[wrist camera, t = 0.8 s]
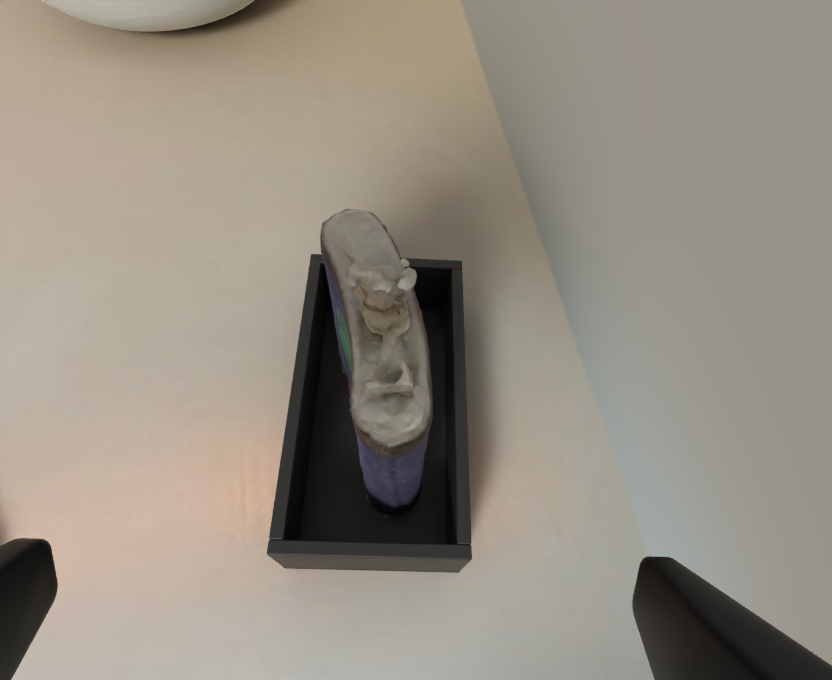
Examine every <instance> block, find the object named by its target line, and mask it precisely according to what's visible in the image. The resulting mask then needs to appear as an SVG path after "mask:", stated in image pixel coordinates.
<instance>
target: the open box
mask: <svg viewBox="0 0 832 680" xmlns="http://www.w3.org/2000/svg"><path fill="white" fill-rule="evenodd" d="M401 259H403V258H401ZM405 259H406V260H407V261H408V262H409V266H408V267H409V268H412V269H414V270H415V271H416V274H417V278H416V283H415V285H414V291H415V294H416V298H417V300H418V303H419V308H420V310H421V312H422V318H423V322H424V326H425V329H426V333H427V341H428V346H429V351H430V355H429V360H430V370H431V380H432V395H433V419H432V423H431V426H430V431H429V434H428V442H427V448H426V452H425V456H424V466H423V473H422V489H421V495H420V498H419V500H418V502H417V505H416V506H415V507H414V508H412V509H411V510H410V511H409V512H407V513H406V514H400V515H398V516H397V515H390V516H389V517H388V518H386V519H385V517H384V515H383V513H381V512H379V511H378V510H376V509H375V508H374V507H373V506H372V505H371V504H370V503H369V502H368V500H367V494H366V493H367V492H366V489H365V485H364V478H363V471H362V467H361V465H360V457H359V447H358V442H357V434H356V431H355V427H354V423H353V420H352V414H351V412H350V411H349V409H350V403H349V397H350V393H349V392H350V389H349V383H348V378H347V377H346V374H343V372H342V369H341V365H342V362H341V358H340V356H339V352H338V338H337V332H336V327H335V320H334V313H333V308H332V300H331V296H330V291H329V284H328V279H327V273H326V268H325V264H324V260H323V257H322V255H320V254H311V259H310V266H309V272H308V279H307V286H306V293H305V299H304V306H303V313H302V320H301V326H300V333H299V340H298V347H297V353H296V360H295V367H294V374H293V380H292V387H291V394H290V401H289V407H288V414H287V421H286V428H285V434H284V441H283V448H282V455H281V461H280V468H279V475H278V482H277V488H276V495H275V502H274V509H273V515H272V522H271V529H270V536H269V539H270V540H269V542H268V549H267V555H269V556H270V557H271V558H273V559H274V560H275V561H276V562H278V563H279V564H280V565H282V566H283V567H284V568H295V569H336V570H377V571H417V572H459V571H460V570H461V569H462V568H463V567H464V566H465V565H466V564H467V563H468V562H469V561H470V560H471V559H472V552H471V522H470V492H469V462H468V432H467V402H466V372H465V342H464V312H463V282H462V261H452V260H430V259H408V258H405ZM408 267H405V268H408Z"/></svg>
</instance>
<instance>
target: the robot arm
mask: <svg viewBox="0 0 832 680" xmlns="http://www.w3.org/2000/svg"><path fill="white" fill-rule="evenodd" d="M57 587H58V583H57V577H56V571H55V566H54V560H53V555H52V550H51V546H50V544H49V543H48V541H46V540H44V539H29V538H20V539H14V540H12V541H10V542H8V543H6V544H3V545H1V546H0V680H11V679H12V677H13V675H14V674H15V672H16V670H17V668H18V666H19V664H20V663H21V661H22V659H23V657H24V655H25V653H26V652H27V650H28V648H29V646H30V644H31V642H32V641H33V639H34V637H35V635H36V633H37V631H38V630H39V628H40V626H41V624H42V622H43V620H44V619H45V617H46V615H47V613H48V611H49V609H50V608H51V606H52V604H53V602H54V600H55V597H56V593H57ZM632 605H633V613H634V617H635V620H636V623H637V626H638V629H639V633H640V636H641V639H642V642H643V645H644V648H645V651H646V654H647V657H648V660H649V663H650V667H651V670H652V673H653V676H654V679H655V680H832V666H831V665H830V664H828V663H827V662H825V661H824V660H822V659H821V658H820V657H818V656H817V655H815V654H813V653H812V652H810V651H809V650H808V649H806V648H804V647H803V646H802V645H800V644H799V643H797V642H796V641H794V640H793V639H791V638H790V637H788V636H787V635H785V634H784V633H782V632H781V631H779V630H778V629H776V628H775V627H773V626H772V625H771V624H769V623H768V622H766V621H765V620H763V619H762V618H760V617H759V616H757V615H756V614H754V613H753V612H751V611H750V610H748V609H747V608H745V607H744V606H742V605H741V604H739V603H738V602H736V601H735V600H733V599H732V598H730V597H729V596H727V595H726V594H724V593H723V592H722V591H720V590H719V589H717V588H715V587H714V586H713V585H711V584H710V583H708V582H707V581H705V580H704V579H702V578H701V577H699V576H698V575H696V574H695V573H693V572H692V571H690V570H689V569H687V568H686V567H684V566H683V565H681V564H680V563H678V562H677V561H676V560H674V559H672V558H669V557H645V558H644V559H643V560H642V561H641V563H640V567H639V571H638V576H637V581H636V585H635V590H634V595H633V604H632Z"/></svg>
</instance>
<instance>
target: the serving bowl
mask: <svg viewBox="0 0 832 680" xmlns="http://www.w3.org/2000/svg"><path fill="white" fill-rule="evenodd" d="M41 1H43V2H44V3H46V4H48V5H49V6H51V7H53V8H55V9H57V10H58V11H60V12H63V13H65V14H67V15H69V16H72V17H74V18H77V19H79V20H82V21H85V22H88V23H92V24H95V25H99V26H103V27H108V28H113V29H119V30H128V31H148V32H154V31H170V30H178V29H185V28H191V27H195V26H200V25H204V24H207V23H210V22H214V21H217V20H219V19H222V18H225V17H227V16H229V15H231V14H234V13H235V12H237V11H239V10H241V9H243V8H244V7H246V6H247V5H249V4H250V3H252V2H253V1H254V0H41Z"/></svg>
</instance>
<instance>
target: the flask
mask: <svg viewBox="0 0 832 680" xmlns="http://www.w3.org/2000/svg"><path fill="white" fill-rule="evenodd" d="M320 238H321V253H322V257H323V260H324V264H325V268H326V273H327V279H328V284H329V291H330V296H331V300H332V308H333V313H334V320H335V327H336V332H337V338H338V352H339V356H340V358H341V362H342V365H341V369H342V372H343V374H346V377H347V378H348V383H349V389H350V392H349V393H350V397H349V403H350V409H349V411H350V412H351V414H352V420H353V423H354V427H355V431H356V434H357V442H358V447H359V457H360V465H361V467H362V471H363V478H364V485H365V489H366V492H367V493H366V494H367V500H368V502H369V503H370V504H371V505H372V506H373V507H374V508H375V509H376V510H378V511H379V512H381V513H383V515H384V517H385V519H386V518H388V517H389V516H390V515H397V516H398V515H400V514H406V513H407V512H409V511H410V510H411V509H412V508H414V507H415V506H416V505H417V502H418V500H419V498H420V495H421V489H422V473H423V466H424V456H425V452H426V448H427V442H428V434H429V431H430V426H431V423H432V419H433V395H432V380H431V370H430V360H429V355H430V351H429V346H428V341H427V333H426V329H425V326H424V322H423V318H422V312H421V310H420V308H419V303H418V300H417V298H416V294H415V291H414V285H415V283H416V278H417V274H416V271H415V270H414V269H412V268H409V267H408V266H409V262H408V261H407V260H406V259H405V258H403V259H401V257H400V255H399V252H398V250H397V247H396V245H395V243H394V242H393V240H392V238H391V236H390V235H389V233H388V231H387V229H386V227H385V226H384V225H383V224H382V223H381V221H380V220H379V219H378V218H377V217H376V216H375V215H374V214H373V213H370V212H366V211H362V210H355V209H346V210H343V211H341V212H339V213H337V214H334V215H333V216H332V217H330V218H329V219H328V220H327V221H325V222H323V224H322V229H321V236H320ZM405 267H408V268H405Z"/></svg>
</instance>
